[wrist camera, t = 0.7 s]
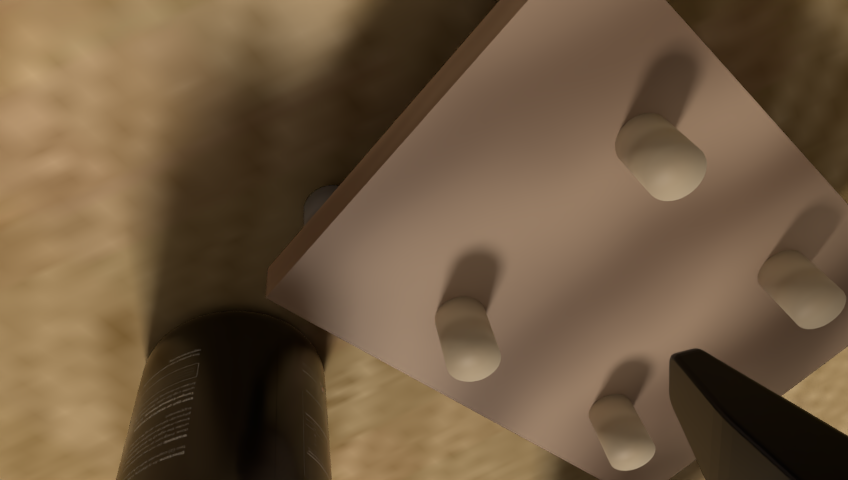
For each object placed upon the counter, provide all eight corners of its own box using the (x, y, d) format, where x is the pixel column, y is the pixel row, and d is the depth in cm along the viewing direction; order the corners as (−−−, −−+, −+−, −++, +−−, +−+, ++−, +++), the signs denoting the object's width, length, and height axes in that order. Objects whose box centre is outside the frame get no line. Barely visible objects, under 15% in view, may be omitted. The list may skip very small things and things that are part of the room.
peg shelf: (838, 223, 28) (970, 326, 22) (599, 418, 32) (661, 545, 26) (539, -101, 19) (631, -63, 14) (271, 219, 24) (262, 343, 18)
